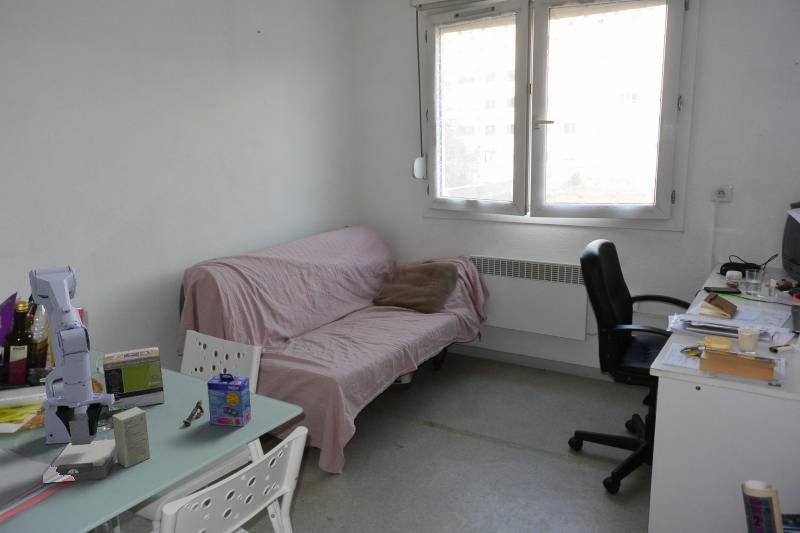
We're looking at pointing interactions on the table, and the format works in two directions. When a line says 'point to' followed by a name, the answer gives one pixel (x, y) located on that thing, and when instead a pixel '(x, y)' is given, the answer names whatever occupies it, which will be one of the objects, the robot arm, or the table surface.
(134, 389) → the tea box
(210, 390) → the ink cartridge box
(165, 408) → the table surface
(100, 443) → the dial scale
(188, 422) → the wooden post with brackets
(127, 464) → the skincare box
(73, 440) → the block
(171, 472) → the table surface
